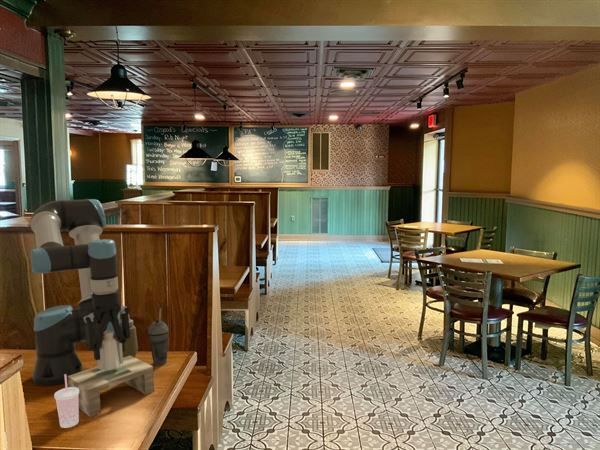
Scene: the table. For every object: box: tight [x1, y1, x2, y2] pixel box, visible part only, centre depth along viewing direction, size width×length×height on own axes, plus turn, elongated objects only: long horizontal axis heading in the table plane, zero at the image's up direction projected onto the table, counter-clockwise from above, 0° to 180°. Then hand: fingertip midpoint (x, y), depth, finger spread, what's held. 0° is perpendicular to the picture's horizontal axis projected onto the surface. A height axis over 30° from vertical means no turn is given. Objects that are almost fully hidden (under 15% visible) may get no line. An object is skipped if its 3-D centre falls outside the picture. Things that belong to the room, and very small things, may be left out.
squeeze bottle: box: [115, 314, 139, 358], centre depth 168 cm, size 8×8×18 cm
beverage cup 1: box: [53, 374, 80, 429], centre depth 125 cm, size 6×6×14 cm
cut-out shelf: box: [67, 356, 155, 418], centre depth 140 cm, size 14×20×8 cm
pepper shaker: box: [101, 331, 120, 370], centre depth 139 cm, size 5×5×11 cm
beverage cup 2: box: [147, 308, 170, 367], centre depth 164 cm, size 7×7×20 cm
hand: (110, 365), depth 140 cm, fingers closed on pepper shaker, 5 cm apart
